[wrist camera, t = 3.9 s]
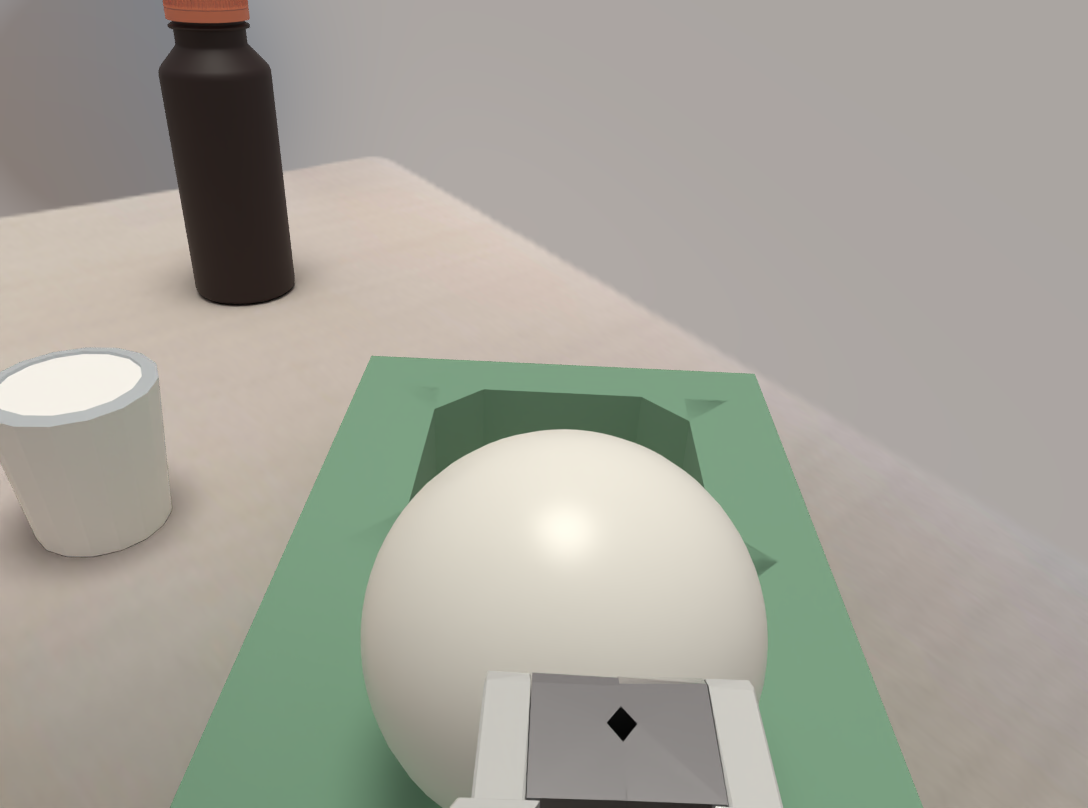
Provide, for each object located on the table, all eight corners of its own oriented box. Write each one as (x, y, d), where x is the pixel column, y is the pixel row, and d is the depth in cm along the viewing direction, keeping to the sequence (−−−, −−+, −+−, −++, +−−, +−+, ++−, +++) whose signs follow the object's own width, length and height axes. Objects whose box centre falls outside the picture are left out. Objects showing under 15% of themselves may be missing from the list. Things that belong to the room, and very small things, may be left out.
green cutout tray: (987, 1206, 19) (1046, 1125, 17) (95, 1158, 19) (50, 1074, 17) (742, 438, 47) (754, 373, 45) (376, 421, 47) (371, 355, 45)
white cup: (177, 555, 37) (145, 415, 34) (-1, 576, 35) (-54, 432, 32) (193, 466, 43) (168, 339, 39) (41, 481, 41) (0, 350, 38)
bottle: (287, 266, 66) (253, -25, 56) (303, 299, 61) (268, -15, 51) (193, 276, 64) (140, -26, 54) (201, 312, 58) (143, -16, 48)
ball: (577, 1046, 18) (615, 724, 13) (298, 765, 24) (250, 463, 19) (800, 752, 25) (881, 462, 20) (540, 586, 30) (552, 327, 25)
